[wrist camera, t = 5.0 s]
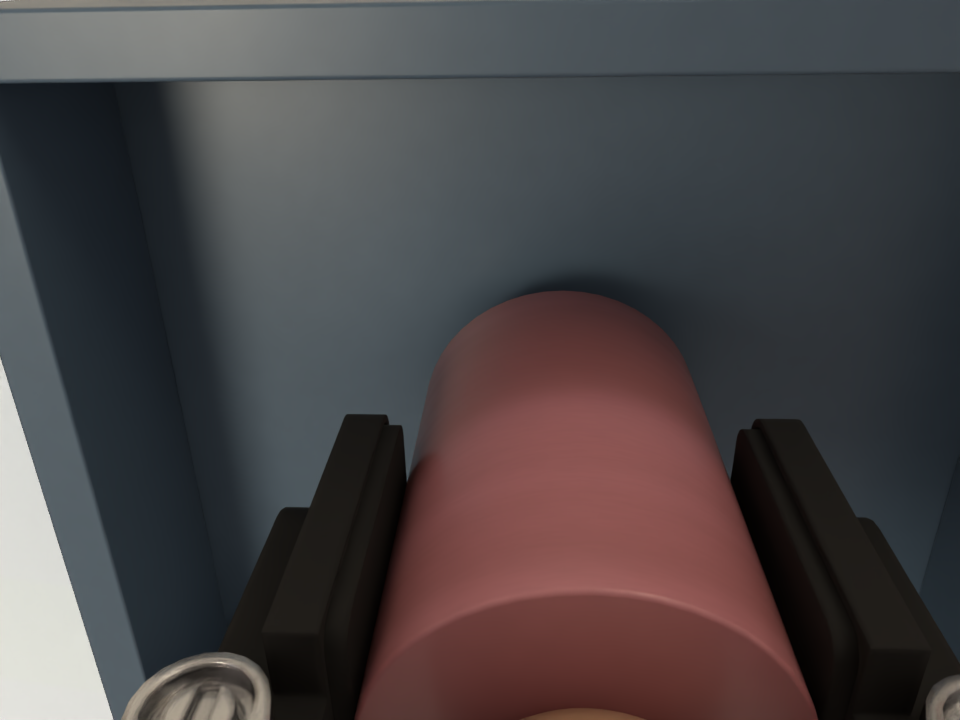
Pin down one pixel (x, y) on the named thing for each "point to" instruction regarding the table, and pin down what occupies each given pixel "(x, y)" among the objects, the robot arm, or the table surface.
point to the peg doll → (573, 538)
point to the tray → (456, 251)
